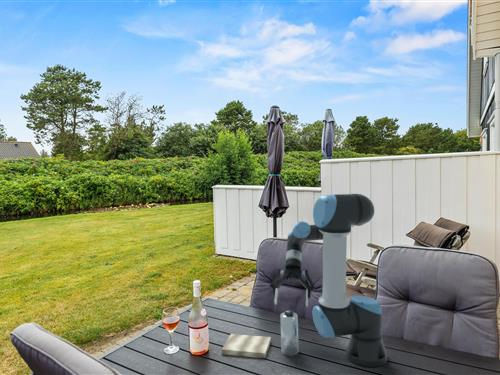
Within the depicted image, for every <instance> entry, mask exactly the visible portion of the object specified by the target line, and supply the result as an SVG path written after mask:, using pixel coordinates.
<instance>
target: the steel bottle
mask: <svg viewBox="0 0 500 375" xmlns="http://www.w3.org/2000/svg"><path fill="white" fill-rule="evenodd" d="M279 318H280V344H281V345H280V347H281V348H280V349H281V350H280V352H281V354H283V355H284V356H288V357H292V356H296V355H298V354H299V350H300V349H299V320H298V313H296V312H294V310H292V309H286V310H284V312H282V313H280V317H279Z"/></svg>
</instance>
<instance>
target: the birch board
mask: <svg viewBox="0 0 500 375" xmlns="http://www.w3.org/2000/svg"><path fill="white" fill-rule="evenodd" d="M271 343H272V337H271V336H265V335H264V336H261V335H248V334H236V333H231V334H230V335H229V336H228V338H227V340H226V342H225V343H224V345H223V346H222V348H221V355H225V356H228V355H229V356H237V357H246V358H247V357H248V358H249V357H250V358H258V359H266V357H267V354H268V352H269V349H270V345H271Z"/></svg>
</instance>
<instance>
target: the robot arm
mask: <svg viewBox="0 0 500 375" xmlns="http://www.w3.org/2000/svg"><path fill="white" fill-rule="evenodd" d="M313 205H314V206H313V208H312V209H313V210H312V211H313V212H312V219H313V222H314V224H309V223H308V222H306V221H303V220H301V221H298V222H296V223H295V225H294V226H293V228H292V231H291V232H289V233H288V235H287V238H286V251H285V252H286V253H285V265H284V270H283V269H281V268H279V269H277V273H276V275H275V276H274V277H273V279H272V281H271V282H270V284H269V289H271V290H272V297H274V299H273V300H274V301H273V302H274V305H278V296H279V288H280V287H281V286H283V285H284V283H285V282H287V281H288V280H289V281H298V282H299V283H300V284H301V285H302V286H303V287H304V288H305V307H309V300H308V299H311V295H312V292H315V291H316V290H315V288H316V287H315V285H314V283H313V281H312V279H311V277H310V276H309V273H308V272H309V271H308V269H305V270H302V255H303V246H304V244H305V242H311V241H321V240H322V292H321V293H322V294H321V296H319V298H318V300H317V301H318V304H317V305H315V306H313V308H312V311H311V312H312V314H311V316H312V319H313V323H314V325H315V328H316V330H317V332H318V334H319V335H320V336H321V337H323V338H325V339H328V338H332V339H333V338H337V337H343V336H349V335H350V337H349V340H348V343H347V346H346V357H347V359H348V360H349V361H351V362H352V363H353V364H356V365H358V366H361V367H368V368H377V367H383V366H384V365H386V364H387V362H388V353H387V350H386V347H385V344H384V342H383V333H382V332H383V328H382V327H383V325H382V324H383V322H382V319H383V318H382V316H383V312H382V304H381V303H380V302H379V301H378V299H377V300H376V299H375V298H372V297H369V296H367V295H366V296H365V295H351V296H350V297H349V299H348V298H347V294H346V293H347V248H348V246H347V241H348V239H347V237H348V235H349V234H350V233H352V228H353V227H355V226H357V227H360V226H364V225H365V224H367V223H369V222H370V221H371V220H372V219H373V217H374V215H375V206H374V203H373V202H372V200H371V198H369V197H368V196H366V195H364V194H361V193H347V194H346V193H343V194H341V193H340V194H326V195H320V197H318V198H317V200H316V201H315V203H314V204H313ZM282 275H283V276H282ZM302 275H303V276H304V277H305V279H306V281H307V282H306V281H305V280H304V279H303V277H302ZM281 277H282V278H281ZM280 278H281V279H280ZM307 283H308V284H307Z"/></svg>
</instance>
